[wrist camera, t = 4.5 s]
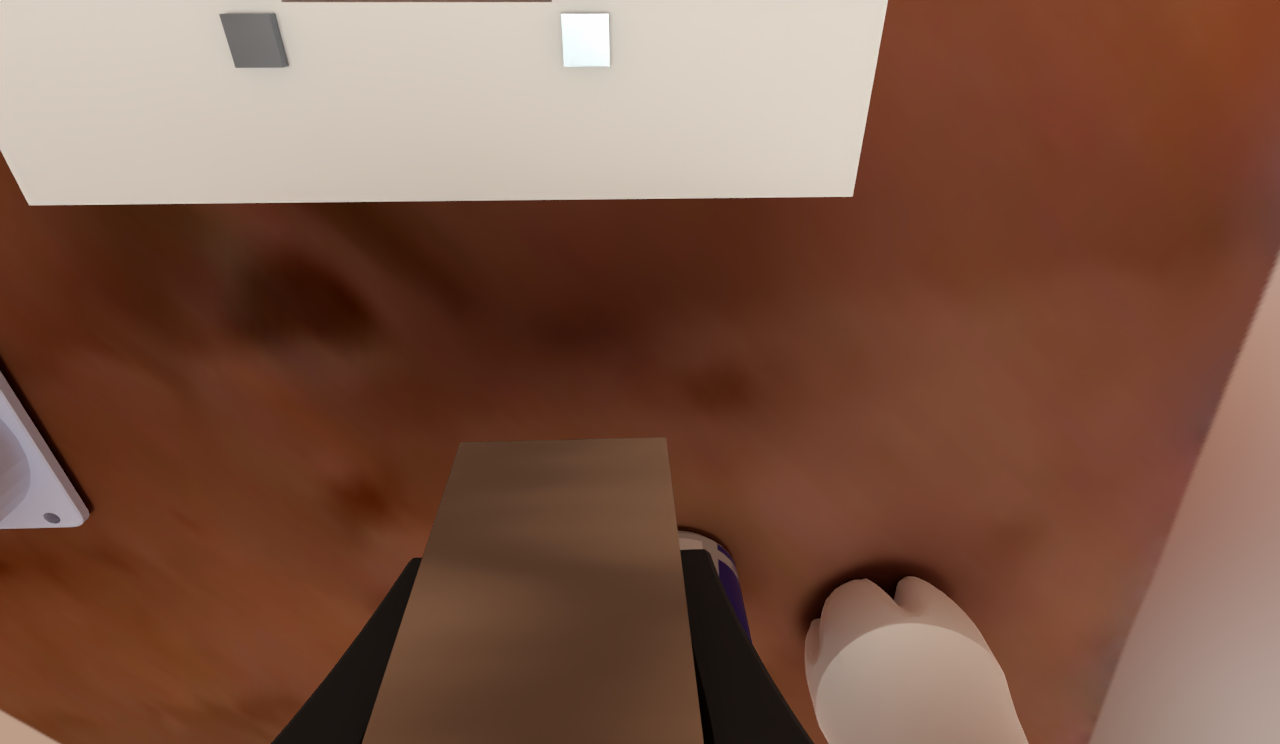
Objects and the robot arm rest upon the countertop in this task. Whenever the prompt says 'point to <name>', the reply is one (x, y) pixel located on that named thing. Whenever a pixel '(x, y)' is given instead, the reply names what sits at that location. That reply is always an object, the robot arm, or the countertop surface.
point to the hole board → (433, 99)
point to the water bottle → (905, 670)
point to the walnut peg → (547, 604)
